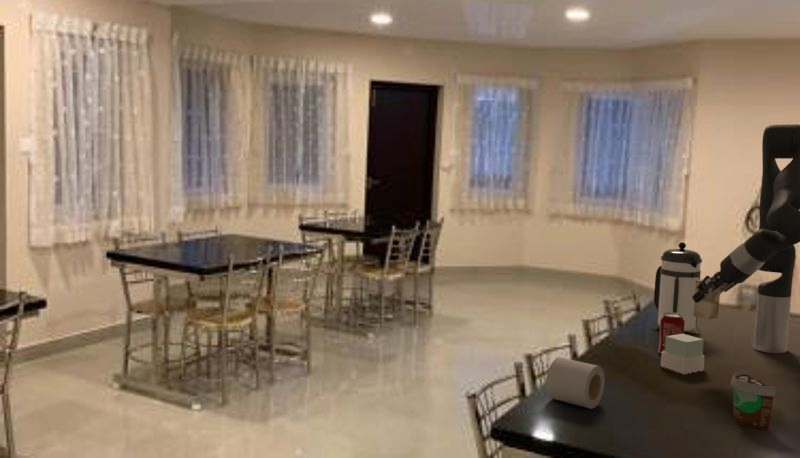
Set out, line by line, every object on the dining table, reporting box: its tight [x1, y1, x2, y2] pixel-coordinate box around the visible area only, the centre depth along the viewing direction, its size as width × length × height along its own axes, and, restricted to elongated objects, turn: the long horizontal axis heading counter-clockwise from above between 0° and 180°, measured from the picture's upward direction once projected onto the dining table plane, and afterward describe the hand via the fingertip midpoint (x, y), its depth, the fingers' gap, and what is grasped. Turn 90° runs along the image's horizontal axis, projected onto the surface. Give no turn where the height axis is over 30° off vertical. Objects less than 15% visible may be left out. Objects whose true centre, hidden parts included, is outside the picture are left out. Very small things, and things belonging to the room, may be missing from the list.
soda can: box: [657, 313, 685, 354], centre depth 233 cm, size 7×7×12 cm
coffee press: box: [652, 241, 703, 335], centre depth 262 cm, size 17×16×30 cm
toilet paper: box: [545, 356, 606, 410], centre depth 186 cm, size 10×10×10 cm
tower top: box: [665, 333, 705, 358], centre depth 218 cm, size 7×7×4 cm
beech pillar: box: [693, 278, 721, 321], centre depth 214 cm, size 4×4×10 cm
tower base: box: [660, 351, 705, 375], centre depth 218 cm, size 8×8×4 cm
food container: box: [730, 370, 776, 430], centre depth 177 cm, size 12×6×10 cm, turn 5°
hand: (700, 299), depth 215 cm, fingers closed on beech pillar, 4 cm apart
